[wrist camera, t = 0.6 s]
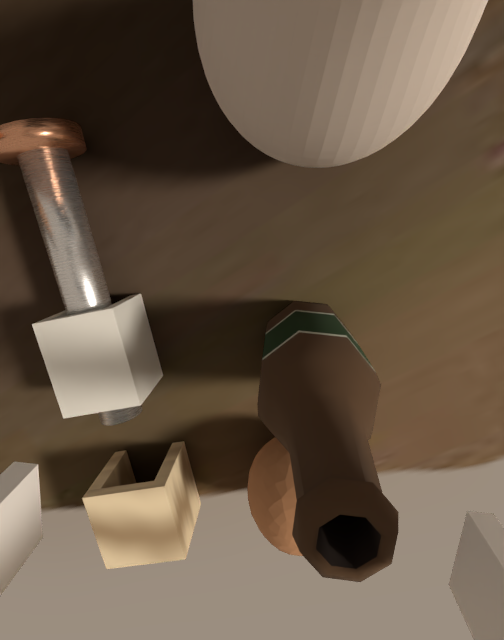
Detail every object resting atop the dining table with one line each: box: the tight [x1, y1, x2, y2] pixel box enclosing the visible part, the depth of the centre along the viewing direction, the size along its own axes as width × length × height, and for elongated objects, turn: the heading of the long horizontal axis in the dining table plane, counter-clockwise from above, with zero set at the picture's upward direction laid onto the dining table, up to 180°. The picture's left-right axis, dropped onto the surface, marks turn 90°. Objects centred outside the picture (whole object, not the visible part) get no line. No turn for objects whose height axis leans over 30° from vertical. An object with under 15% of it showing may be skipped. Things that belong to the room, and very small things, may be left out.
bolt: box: [0, 118, 142, 425], centre depth 33 cm, size 24×6×6 cm, turn 12°
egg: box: [248, 437, 303, 556], centre depth 34 cm, size 8×8×11 cm
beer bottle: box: [258, 301, 398, 582], centre depth 25 cm, size 8×8×24 cm
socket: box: [82, 441, 201, 569], centre depth 38 cm, size 7×7×7 cm
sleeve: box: [32, 294, 163, 418], centre depth 35 cm, size 8×7×6 cm
